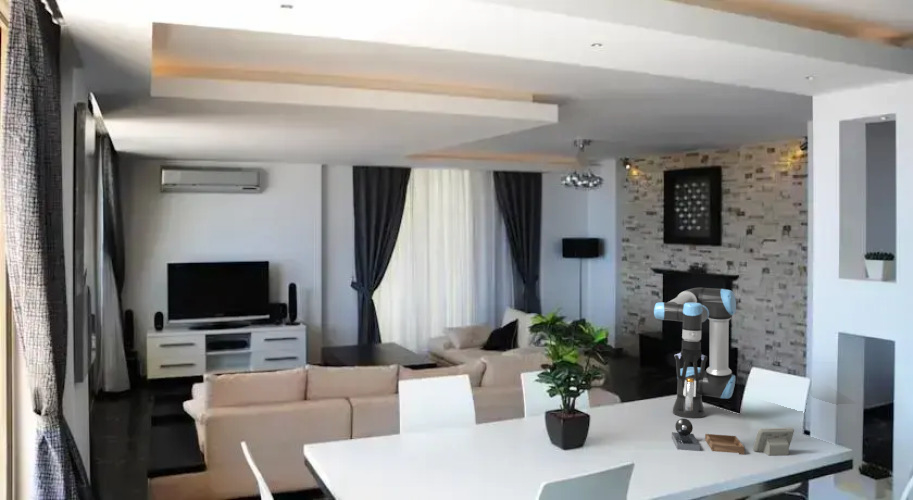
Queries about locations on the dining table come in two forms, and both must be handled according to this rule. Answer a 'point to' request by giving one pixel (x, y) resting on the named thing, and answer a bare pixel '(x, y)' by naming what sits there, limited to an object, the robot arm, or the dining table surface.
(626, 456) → the dining table surface
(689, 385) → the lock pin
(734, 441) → the walnut tray
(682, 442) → the tensioner block
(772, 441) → the digital clock
